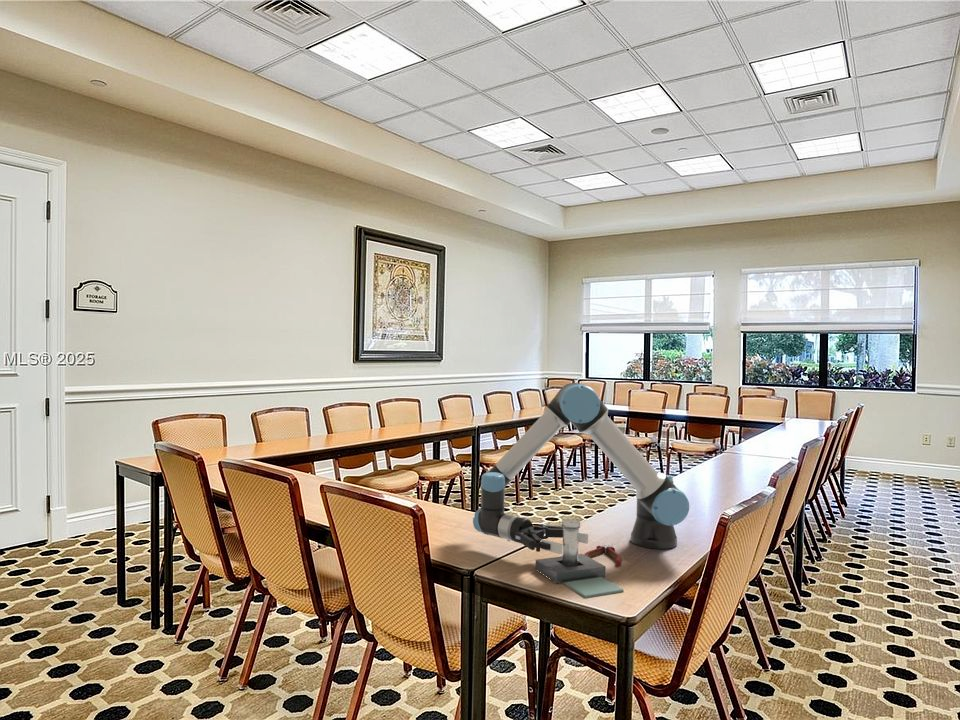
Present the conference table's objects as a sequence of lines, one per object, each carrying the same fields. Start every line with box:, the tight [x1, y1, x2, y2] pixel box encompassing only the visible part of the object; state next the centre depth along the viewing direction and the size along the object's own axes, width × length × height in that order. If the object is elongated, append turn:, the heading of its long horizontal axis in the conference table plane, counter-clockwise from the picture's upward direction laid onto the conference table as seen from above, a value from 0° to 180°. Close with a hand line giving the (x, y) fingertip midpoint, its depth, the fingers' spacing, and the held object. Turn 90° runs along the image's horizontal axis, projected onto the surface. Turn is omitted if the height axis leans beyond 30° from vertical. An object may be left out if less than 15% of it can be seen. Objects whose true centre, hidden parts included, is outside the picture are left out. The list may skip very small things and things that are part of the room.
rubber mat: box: [564, 577, 624, 599], centre depth 166 cm, size 12×10×1 cm
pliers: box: [584, 542, 623, 568], centre depth 195 cm, size 12×20×3 cm, turn 162°
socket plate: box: [534, 553, 607, 584], centre depth 177 cm, size 16×12×3 cm
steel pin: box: [561, 518, 581, 567], centre depth 177 cm, size 5×5×15 cm
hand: (574, 543), depth 176 cm, fingers open, 13 cm apart
